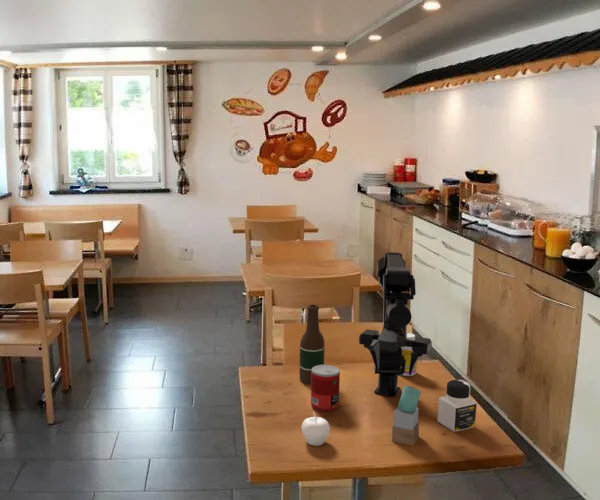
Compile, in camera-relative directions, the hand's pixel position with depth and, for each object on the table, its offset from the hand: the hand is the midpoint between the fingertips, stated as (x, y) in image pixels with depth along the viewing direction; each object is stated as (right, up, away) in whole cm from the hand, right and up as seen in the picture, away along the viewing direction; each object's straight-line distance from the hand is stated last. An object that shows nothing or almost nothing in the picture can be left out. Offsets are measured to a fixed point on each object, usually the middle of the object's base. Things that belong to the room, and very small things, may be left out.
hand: (393, 371), depth 176 cm
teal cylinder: (+2, -7, -12) cm, 14 cm away
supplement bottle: (+9, -7, +34) cm, 36 cm away
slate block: (+1, -11, -11) cm, 16 cm away
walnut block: (+2, -15, -10) cm, 18 cm away
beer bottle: (-22, -8, +27) cm, 36 cm away
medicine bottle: (+17, -14, -2) cm, 22 cm away
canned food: (-18, -12, +8) cm, 23 cm away
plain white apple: (-22, -16, -13) cm, 30 cm away
